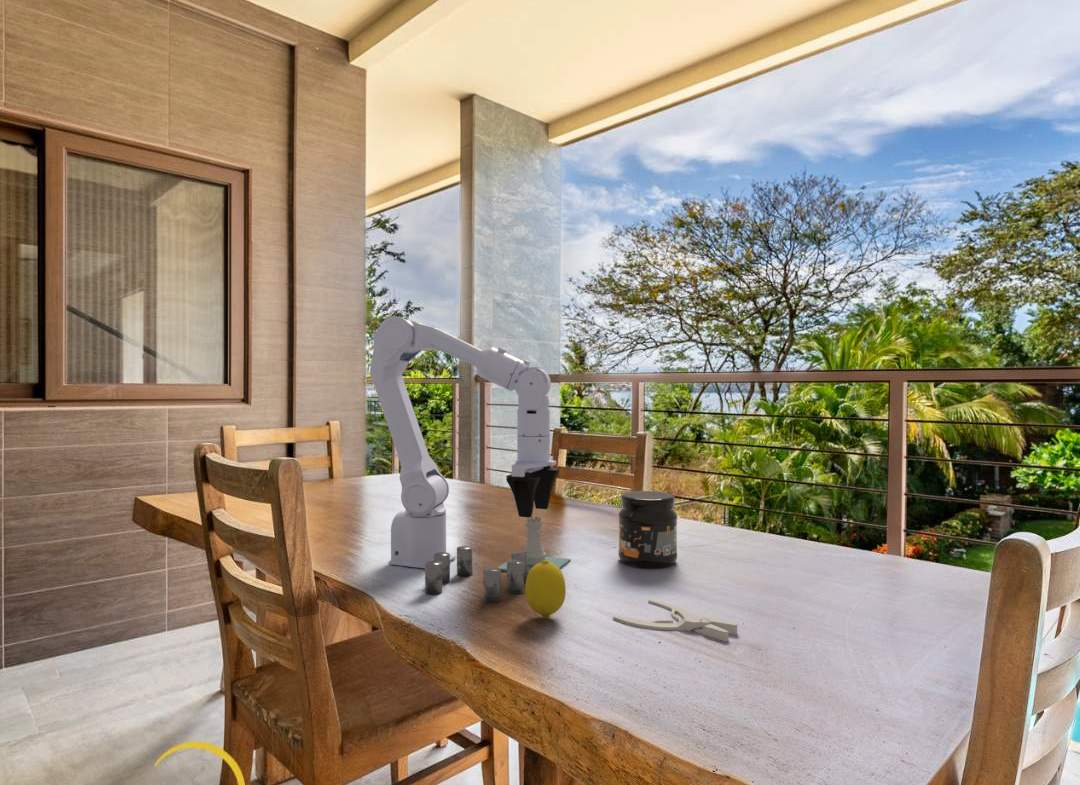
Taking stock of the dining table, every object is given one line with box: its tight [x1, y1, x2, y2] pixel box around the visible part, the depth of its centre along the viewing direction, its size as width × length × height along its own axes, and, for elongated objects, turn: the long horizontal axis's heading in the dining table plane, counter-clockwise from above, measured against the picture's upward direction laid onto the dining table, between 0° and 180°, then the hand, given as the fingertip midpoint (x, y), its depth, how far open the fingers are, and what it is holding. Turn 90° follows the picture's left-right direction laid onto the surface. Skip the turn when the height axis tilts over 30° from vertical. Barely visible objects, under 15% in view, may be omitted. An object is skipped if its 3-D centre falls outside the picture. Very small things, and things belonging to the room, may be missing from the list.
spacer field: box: [424, 545, 528, 604], centre depth 102 cm, size 16×13×4 cm
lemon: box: [524, 560, 567, 619], centre depth 88 cm, size 6×6×8 cm
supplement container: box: [617, 490, 678, 569], centre depth 116 cm, size 10×10×12 cm
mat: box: [497, 556, 571, 575], centre depth 113 cm, size 10×10×1 cm
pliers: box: [612, 598, 738, 642], centre depth 86 cm, size 10×2×15 cm
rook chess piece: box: [523, 516, 547, 566], centre depth 113 cm, size 4×4×8 cm
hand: (533, 512), depth 113 cm, fingers open, 7 cm apart
